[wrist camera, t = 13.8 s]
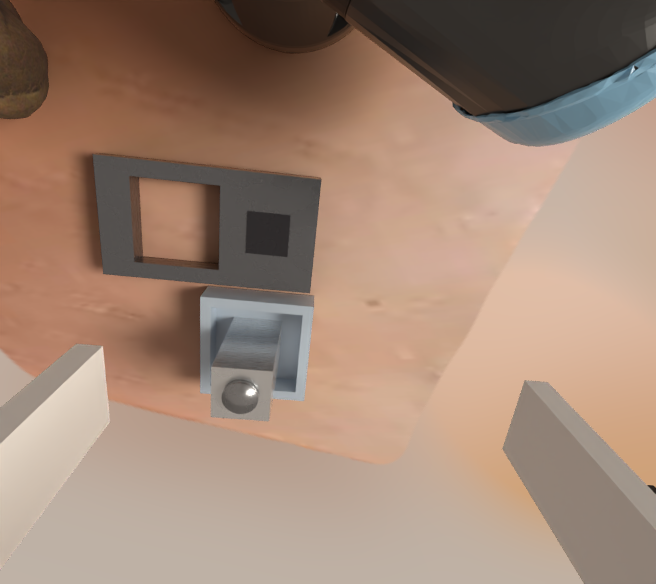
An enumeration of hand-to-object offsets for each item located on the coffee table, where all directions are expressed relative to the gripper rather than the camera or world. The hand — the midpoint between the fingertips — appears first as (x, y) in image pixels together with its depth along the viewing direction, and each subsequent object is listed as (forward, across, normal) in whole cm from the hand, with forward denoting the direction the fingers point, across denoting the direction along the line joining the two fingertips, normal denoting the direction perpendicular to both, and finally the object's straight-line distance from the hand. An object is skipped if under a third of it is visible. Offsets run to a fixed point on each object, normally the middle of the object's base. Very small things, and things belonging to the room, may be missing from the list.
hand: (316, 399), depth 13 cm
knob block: (+28, -5, -13) cm, 31 cm away
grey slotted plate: (+29, -10, -1) cm, 30 cm away
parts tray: (+29, -5, -13) cm, 32 cm away
